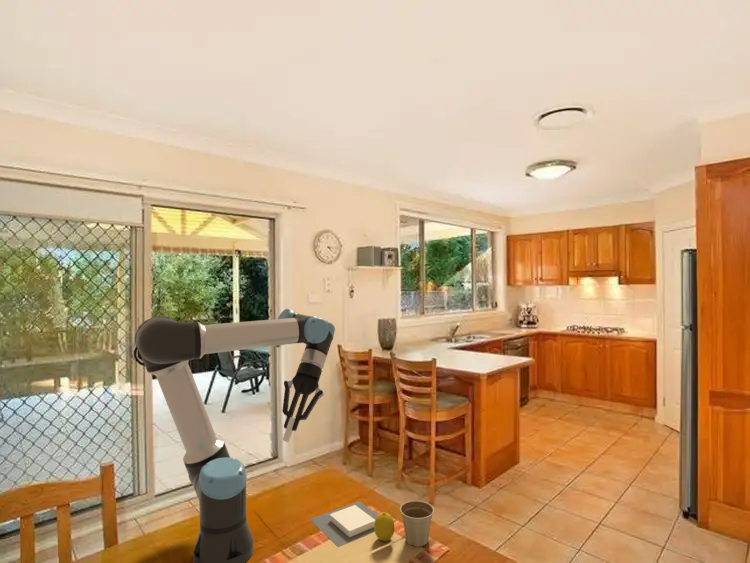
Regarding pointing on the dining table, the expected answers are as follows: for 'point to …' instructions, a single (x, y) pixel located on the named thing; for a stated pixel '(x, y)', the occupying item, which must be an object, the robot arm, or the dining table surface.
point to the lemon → (384, 526)
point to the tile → (352, 521)
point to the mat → (334, 532)
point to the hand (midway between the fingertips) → (285, 440)
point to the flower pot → (417, 521)
